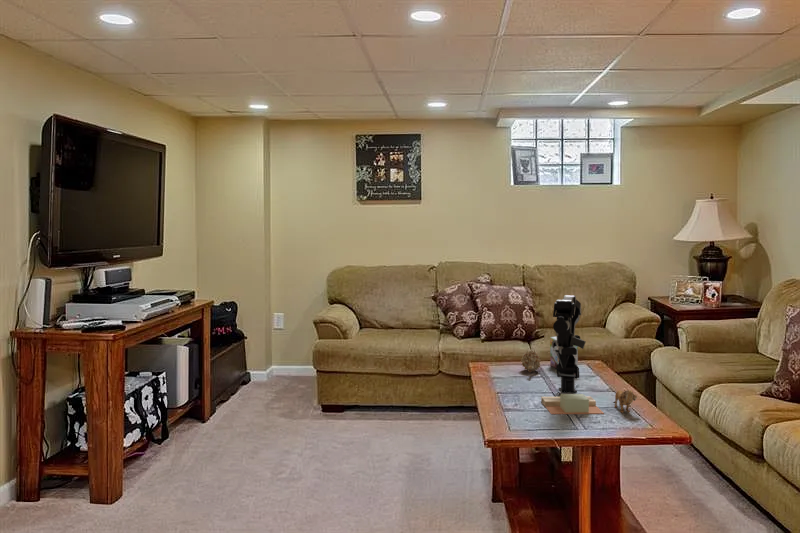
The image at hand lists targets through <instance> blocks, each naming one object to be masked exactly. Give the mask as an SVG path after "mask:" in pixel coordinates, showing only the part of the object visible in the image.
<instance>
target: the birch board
mask: <svg viewBox="0 0 800 533" xmlns="http://www.w3.org/2000/svg"><path fill="white" fill-rule="evenodd" d="M585 396H586V395H585ZM586 397H587V398H588V399H589V406H597V401H596V400H595V399H594V398H593V397H592V396H588V395H587V396H586ZM540 400H541V403H542V405H543V406H544V407H545V408H546V406H560V396H541V399H540Z"/></svg>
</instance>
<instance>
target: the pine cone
mask: <svg viewBox="0 0 800 533" xmlns="http://www.w3.org/2000/svg"><path fill="white" fill-rule="evenodd" d="M521 357H522V358H521V359H520V363H521V365H522V367H523V368H524V370H526V371H528V373H532V372H536V371H538V369H539V368H541V358H540V356H539V353H537V352H536V351H534V350H529V352H528V351H526V352H525V353H523V355H522V356H521Z"/></svg>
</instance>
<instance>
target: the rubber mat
mask: <svg viewBox="0 0 800 533" xmlns="http://www.w3.org/2000/svg"><path fill="white" fill-rule="evenodd" d="M545 408H546V409H547V411H548V412H549V413H550V414H551V415H605V412H603V411H602V410H601V409H600V408H599V406H597V405H596V406H589V412H564V411H563V409H562V408H561V407H560V406H546V407H545Z"/></svg>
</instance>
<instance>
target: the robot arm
mask: <svg viewBox="0 0 800 533" xmlns="http://www.w3.org/2000/svg"><path fill="white" fill-rule="evenodd" d="M576 296H577V295H569V294H565V295H564V296H563V298H562V299H556V300H555V302H554V303H553V313H552V317H553V318H556V320H555V321H554V322H553V326H552V328H553V330H554V332H555V335H556V337H557V340H553V341H552V347H553V348H554V347H555V346H557V350H555V352H556V354H557V356H558V359H559V363H557V369H556V375H557V378H560V387H558V390H559V391H560V392H561V393H578V391H577V389H576V387H575V385H576V384H575V383H576V382H575V381H576V380H575V379H580V368H579V364H578V365H577V364H576V359H575V358H574V356H573V355H577V349H576V348H575V347H574V345H575V346H578V348H580V349H582V350H584V347H585V344H586V341H585V339H582V338H581V336H580V335H577V334H576V325H577V324H578V322H579V321H580V319H581V318H580V317H581V316H582V304H581V302H580V301H579V300H578V299H577V297H576ZM575 374H576V375H575Z"/></svg>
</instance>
